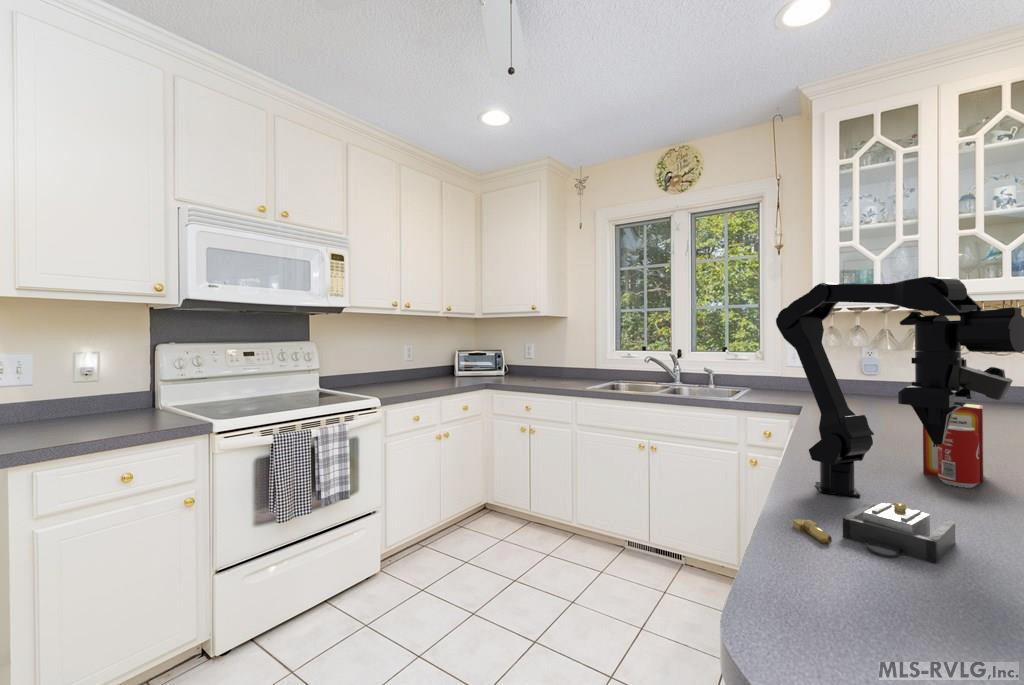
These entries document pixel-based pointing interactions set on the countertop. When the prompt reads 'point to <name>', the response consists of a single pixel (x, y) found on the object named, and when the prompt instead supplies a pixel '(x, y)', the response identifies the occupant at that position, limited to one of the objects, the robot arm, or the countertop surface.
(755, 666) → the countertop surface
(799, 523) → the gold elongated piece
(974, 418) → the baking soda box
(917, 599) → the countertop surface
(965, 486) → the beverage can
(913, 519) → the block
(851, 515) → the bracket
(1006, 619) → the countertop surface
